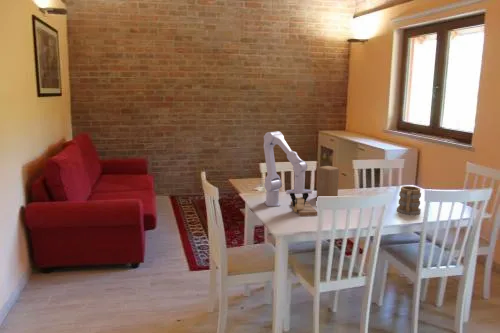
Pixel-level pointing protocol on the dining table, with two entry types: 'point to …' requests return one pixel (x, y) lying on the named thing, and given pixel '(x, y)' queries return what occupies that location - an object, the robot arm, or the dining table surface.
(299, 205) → the tan wood block
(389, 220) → the dining table surface
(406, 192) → the tankard
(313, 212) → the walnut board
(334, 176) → the wooden block
